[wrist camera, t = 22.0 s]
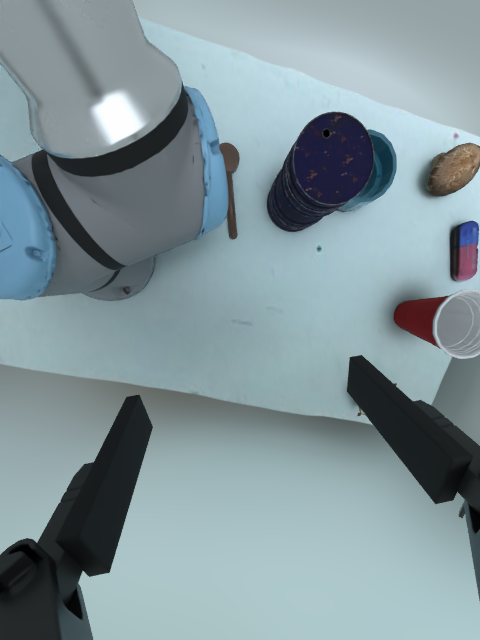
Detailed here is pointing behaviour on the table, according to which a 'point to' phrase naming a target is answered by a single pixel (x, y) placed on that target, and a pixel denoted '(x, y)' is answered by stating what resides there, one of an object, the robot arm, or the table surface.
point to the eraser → (464, 251)
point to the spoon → (230, 183)
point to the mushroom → (453, 169)
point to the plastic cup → (445, 322)
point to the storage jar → (321, 171)
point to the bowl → (376, 173)
